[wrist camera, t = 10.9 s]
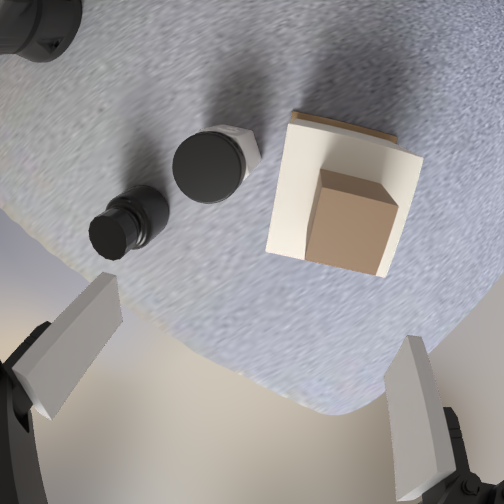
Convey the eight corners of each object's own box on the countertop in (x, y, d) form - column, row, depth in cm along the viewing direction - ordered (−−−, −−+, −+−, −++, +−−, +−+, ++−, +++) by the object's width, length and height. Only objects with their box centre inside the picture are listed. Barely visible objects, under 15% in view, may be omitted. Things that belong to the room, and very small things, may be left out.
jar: (268, 132, 42) (252, 141, 31) (255, 186, 46) (237, 213, 35) (208, 119, 42) (174, 125, 32) (198, 172, 46) (164, 194, 36)
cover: (296, 118, 40) (280, 128, 21) (389, 140, 38) (452, 174, 19) (280, 207, 46) (253, 287, 27) (366, 226, 45) (398, 317, 25)
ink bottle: (126, 177, 49) (82, 199, 38) (172, 187, 48) (134, 213, 37) (124, 229, 53) (85, 259, 43) (167, 241, 53) (133, 277, 42)
